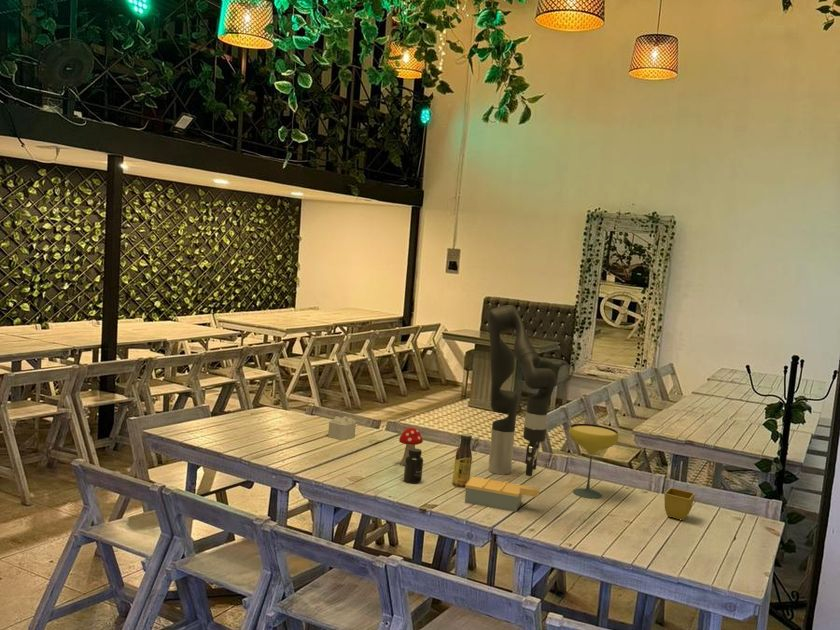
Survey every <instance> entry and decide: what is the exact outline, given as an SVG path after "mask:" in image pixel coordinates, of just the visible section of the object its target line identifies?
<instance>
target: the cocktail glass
mask: <svg viewBox="0 0 840 630" xmlns="http://www.w3.org/2000/svg"><path fill="white" fill-rule="evenodd" d="M568 435H569V437H570V438H571V440H572V441H573V442H574V443H575V444H577V445H578V446H580V447H581V448H583V449H584V450H585V451H586V453H587V454H588V455H589V457H590V458H589V467H588V473H587V474H588V475H587V482H586V487H585V488H582V487H581V488H575V489H573V490H572V493H573V494H574V495H575V496H577V497H581V498H584V499H585V498H586V499H592V498H596V499H599V498H602V496H603V494H602V493H600V492H599V491H597V490H594V489H591V488H590V487H591V486H590V483H591V482H590V481H591V471H592V470H591V469H592V461H593V457H594V456H595V455H596V454H597V453H598V452H599V451H603V450H606V449H610V448H611V447H613V446H616V444H617V443H618V440H619V432H618V431H617V430H616V429H614V428H611V427H608V426H604V425H599V424H593V423H592V424H591V423H575V424H574V423H573V424H572V425H570V427H569V432H568Z"/></svg>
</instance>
